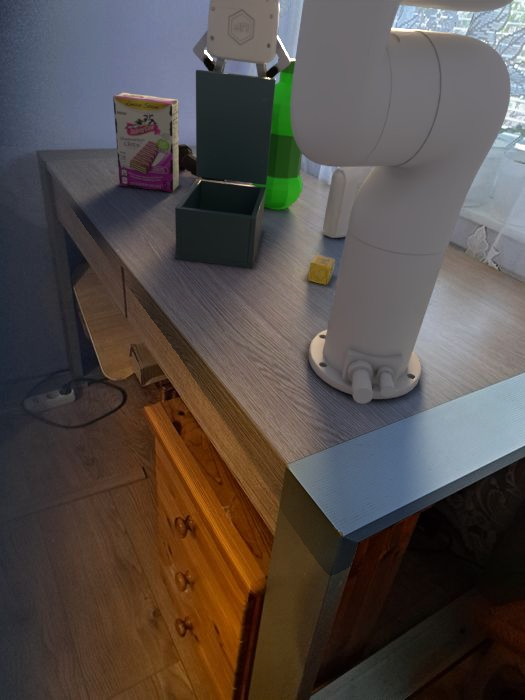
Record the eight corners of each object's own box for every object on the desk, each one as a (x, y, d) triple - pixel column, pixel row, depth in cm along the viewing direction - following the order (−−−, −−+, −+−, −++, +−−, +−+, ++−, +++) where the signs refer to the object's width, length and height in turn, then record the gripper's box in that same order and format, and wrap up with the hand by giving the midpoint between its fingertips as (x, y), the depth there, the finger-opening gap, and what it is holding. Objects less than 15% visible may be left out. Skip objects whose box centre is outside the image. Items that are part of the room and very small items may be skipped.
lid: (275, 79, 69) (278, 72, 74) (195, 70, 70) (203, 63, 74) (266, 185, 79) (269, 173, 83) (196, 176, 79) (203, 165, 84)
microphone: (235, 203, 103) (179, 167, 113) (244, 177, 101) (187, 142, 110) (217, 200, 99) (160, 162, 109) (227, 172, 97) (168, 137, 106)
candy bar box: (118, 186, 97) (111, 95, 87) (127, 179, 101) (120, 91, 91) (173, 193, 96) (172, 102, 87) (179, 186, 100) (178, 98, 91)
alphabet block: (332, 277, 72) (335, 258, 71) (327, 285, 70) (331, 266, 68) (312, 272, 73) (315, 253, 71) (307, 280, 71) (310, 261, 69)
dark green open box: (252, 268, 72) (256, 218, 68) (175, 258, 73) (175, 208, 68) (262, 231, 84) (266, 187, 80) (196, 223, 85) (196, 178, 80)
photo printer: (360, 224, 91) (374, 156, 84) (376, 232, 89) (392, 163, 82) (318, 232, 86) (330, 160, 79) (333, 241, 84) (347, 167, 76)
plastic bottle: (305, 215, 93) (326, 65, 78) (250, 212, 92) (261, 59, 77) (298, 198, 101) (316, 59, 86) (248, 195, 100) (258, 53, 85)
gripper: (180, -44, 64) (180, 106, 75) (308, -28, 63) (289, 121, 74) (193, -42, 70) (191, 98, 81) (310, -27, 69) (292, 111, 80)
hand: (238, 108), depth 77 cm, fingers closed on lid, 5 cm apart
